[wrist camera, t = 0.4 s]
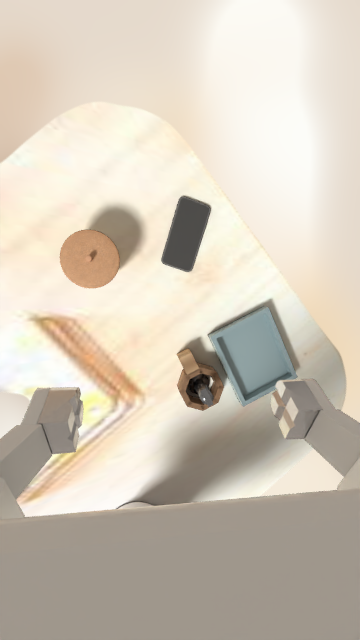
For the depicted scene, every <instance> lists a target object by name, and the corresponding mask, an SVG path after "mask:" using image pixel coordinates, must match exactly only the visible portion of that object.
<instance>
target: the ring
mask: <svg viewBox="0 0 360 640" xmlns="http://www.w3.org/2000/svg"><path fill="white" fill-rule="evenodd" d="M177 356H178V358H179V360H180V362H181V364H182V366H183V368H184V370H182V373H181V376H180V379H179V382H178V384H177V386H178V389H179V392H180V394H181V396H182V398H183V399H184V401H185V403H186V405H187V407H191V408H195V409H198V410H202V411H204V410H205V409H207V408H209V407H208V405H206V404H204V403H202V401H201V399H200V398H197V397H193V396H190V395H188V394H187V392H186V388H187V385H188V383H189V380H190V379H191V378H193V377H195V376H197V375H199V374H201V373H202V374H206V375H209V376H211V377H212V379H213V381H214V382H213V385H212V387H211V390H210V392H211V393H212V395H213V397H214V399H213V405H215V404H217V403H218V402H219V399H220V396H221V394H222V391H223V388H224V386H223V384H222V382H221V380H220V378H219V375H218V373H217V372H216V371H215V369H214V368H213V367H211V366H208V365H204V364H201V363H198V362H197V363H196V361H195V359H194V357H193V355H192V353H191V351H190V350H189V349H186V350H184V351H182V352H180V353H178V354H177ZM213 405H211V406H213ZM211 406H210V407H211Z"/></svg>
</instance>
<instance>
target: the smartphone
mask: <svg viewBox="0 0 360 640" xmlns="http://www.w3.org/2000/svg"><path fill="white" fill-rule="evenodd" d="M209 214H210V207H209V206H207V205H205V204H203V203H200V202H197V201H195V200H192V199H190V198H187V197H181V198H180V199H179V201H178V204H177V208H176V210H175V215H174V217H173V222H172V225H171V228H170V232H169V235H168V239H167V242H166V245H165V249H164V252H163V255H162V259H161V260H162V263H163V264H165V265H168V266H171V267H174V268H177V269H180V270H183V271H186V272H190V271H191V270H192V269H193V265H194V262H195V259H196V256H197V253H198V249H199V246H200V243H201V240H202V237H203V233H204V230H205V228H206V225H207V220H208V217H209Z"/></svg>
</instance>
